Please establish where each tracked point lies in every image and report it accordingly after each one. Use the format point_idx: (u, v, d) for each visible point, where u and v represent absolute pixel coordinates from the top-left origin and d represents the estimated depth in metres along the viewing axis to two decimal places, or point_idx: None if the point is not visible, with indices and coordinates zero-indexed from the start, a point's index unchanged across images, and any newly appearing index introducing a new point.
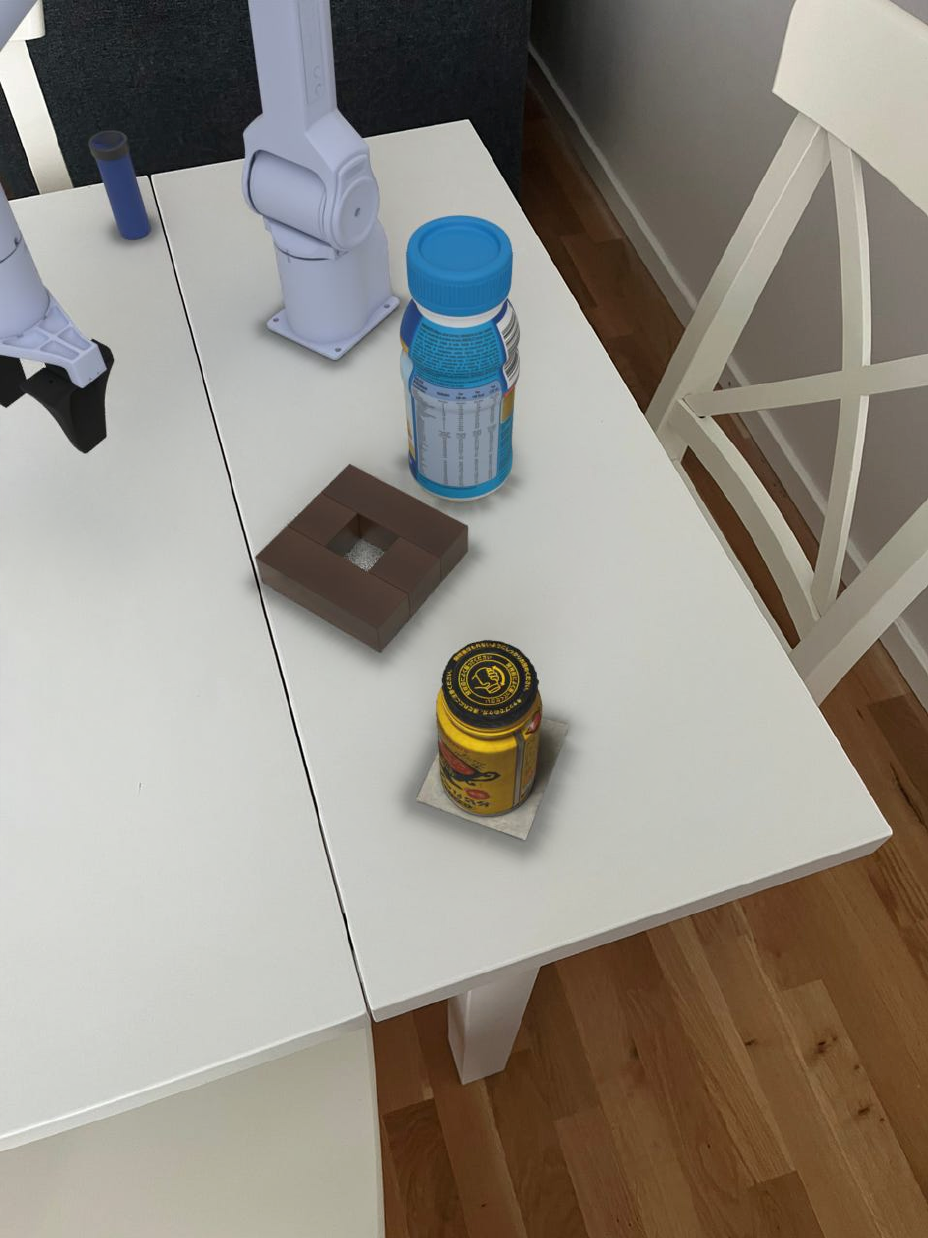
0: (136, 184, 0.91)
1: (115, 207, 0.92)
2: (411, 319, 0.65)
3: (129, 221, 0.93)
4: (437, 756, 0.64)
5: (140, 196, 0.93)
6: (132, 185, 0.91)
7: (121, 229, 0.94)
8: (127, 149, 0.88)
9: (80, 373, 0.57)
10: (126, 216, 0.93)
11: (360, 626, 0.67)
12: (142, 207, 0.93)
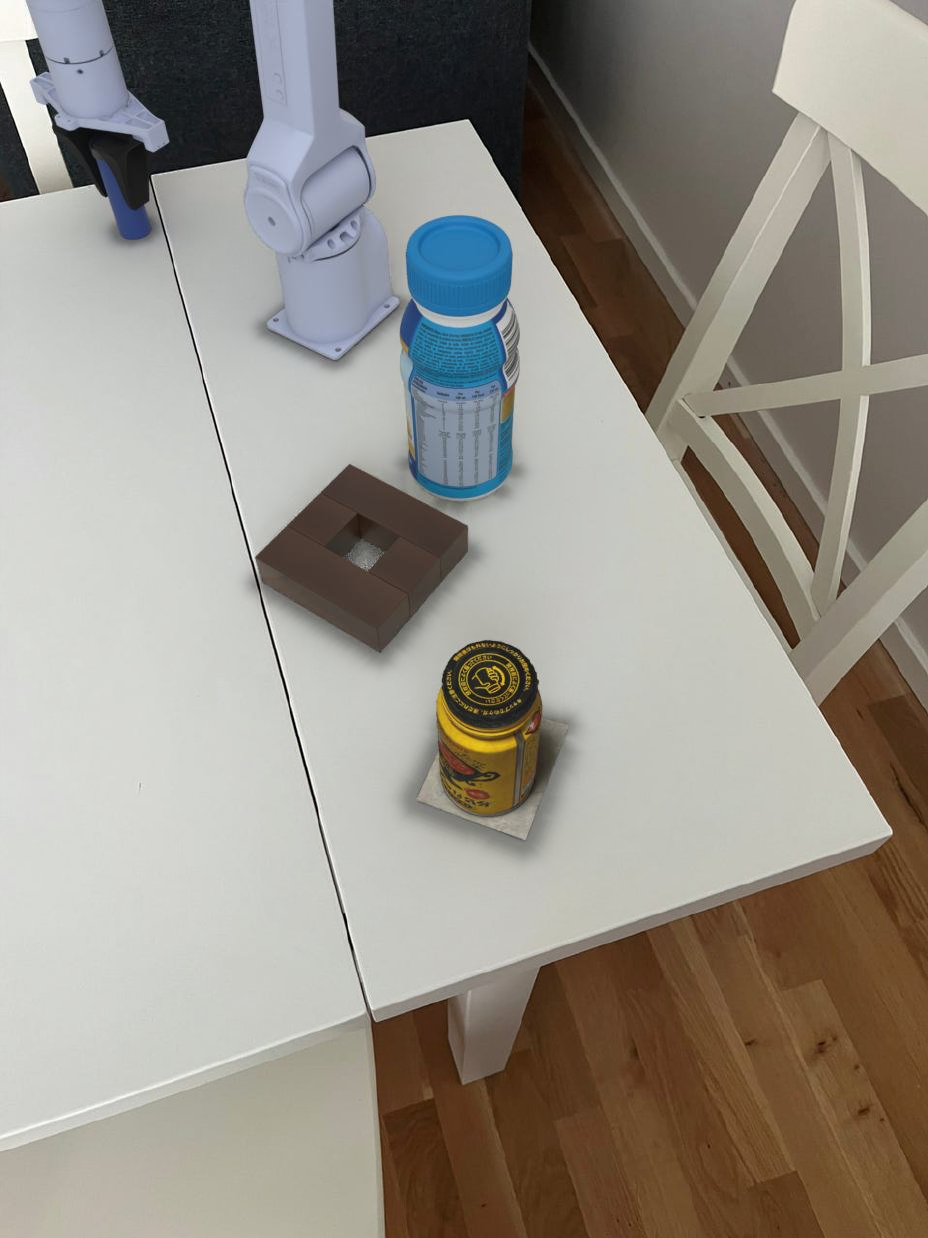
0: None
1: (115, 207, 0.92)
2: (411, 318, 0.65)
3: (130, 221, 0.93)
4: (437, 756, 0.64)
5: None
6: None
7: (121, 229, 0.94)
8: None
9: (152, 140, 0.83)
10: (126, 216, 0.93)
11: (360, 626, 0.67)
12: (142, 207, 0.93)
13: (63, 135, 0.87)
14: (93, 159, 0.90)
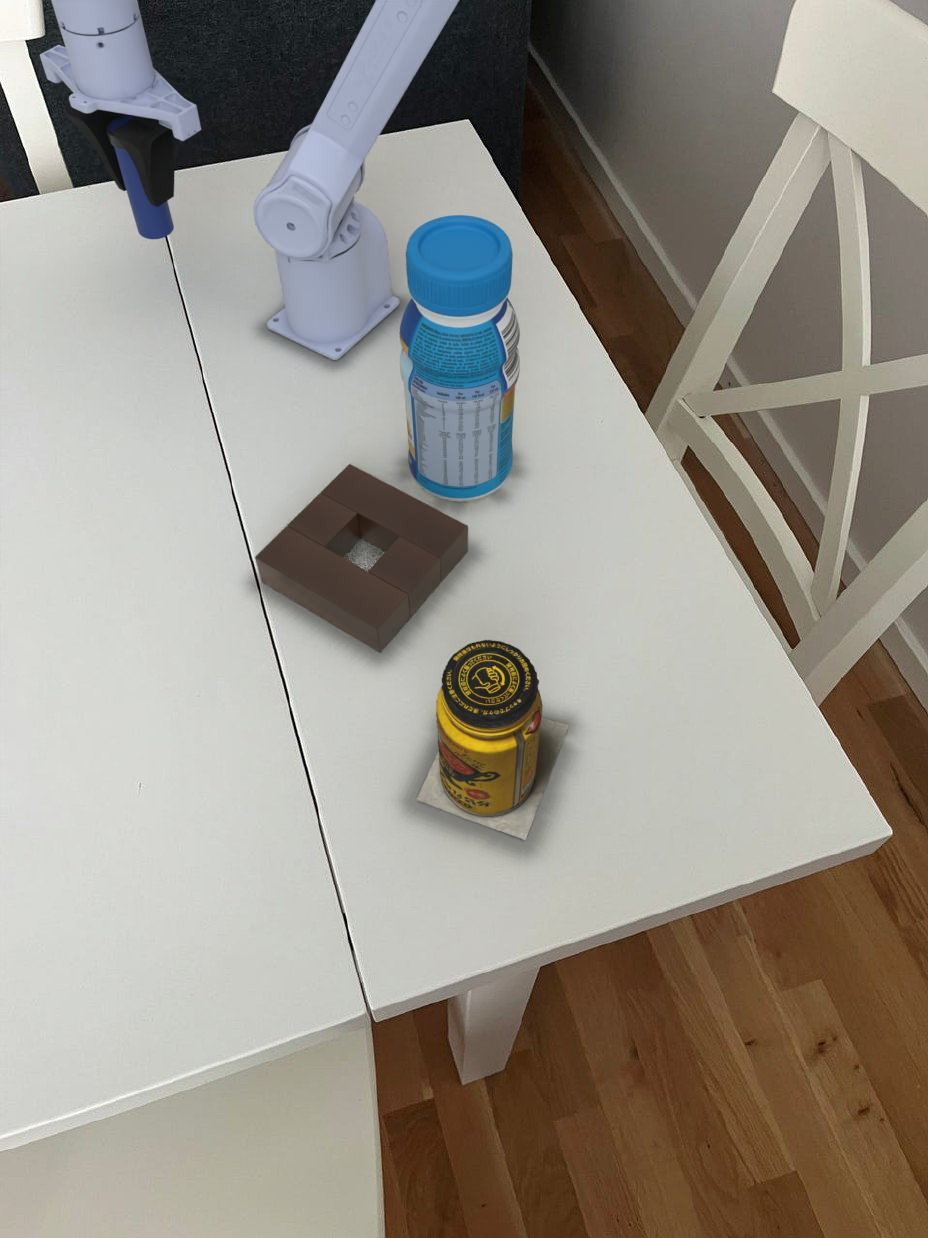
0: None
1: (134, 202, 0.81)
2: (411, 318, 0.65)
3: (150, 219, 0.82)
4: (437, 756, 0.64)
5: None
6: None
7: (140, 228, 0.83)
8: None
9: (182, 127, 0.72)
10: (146, 213, 0.81)
11: (360, 626, 0.67)
12: (165, 203, 0.82)
13: (78, 118, 0.75)
14: (111, 147, 0.78)
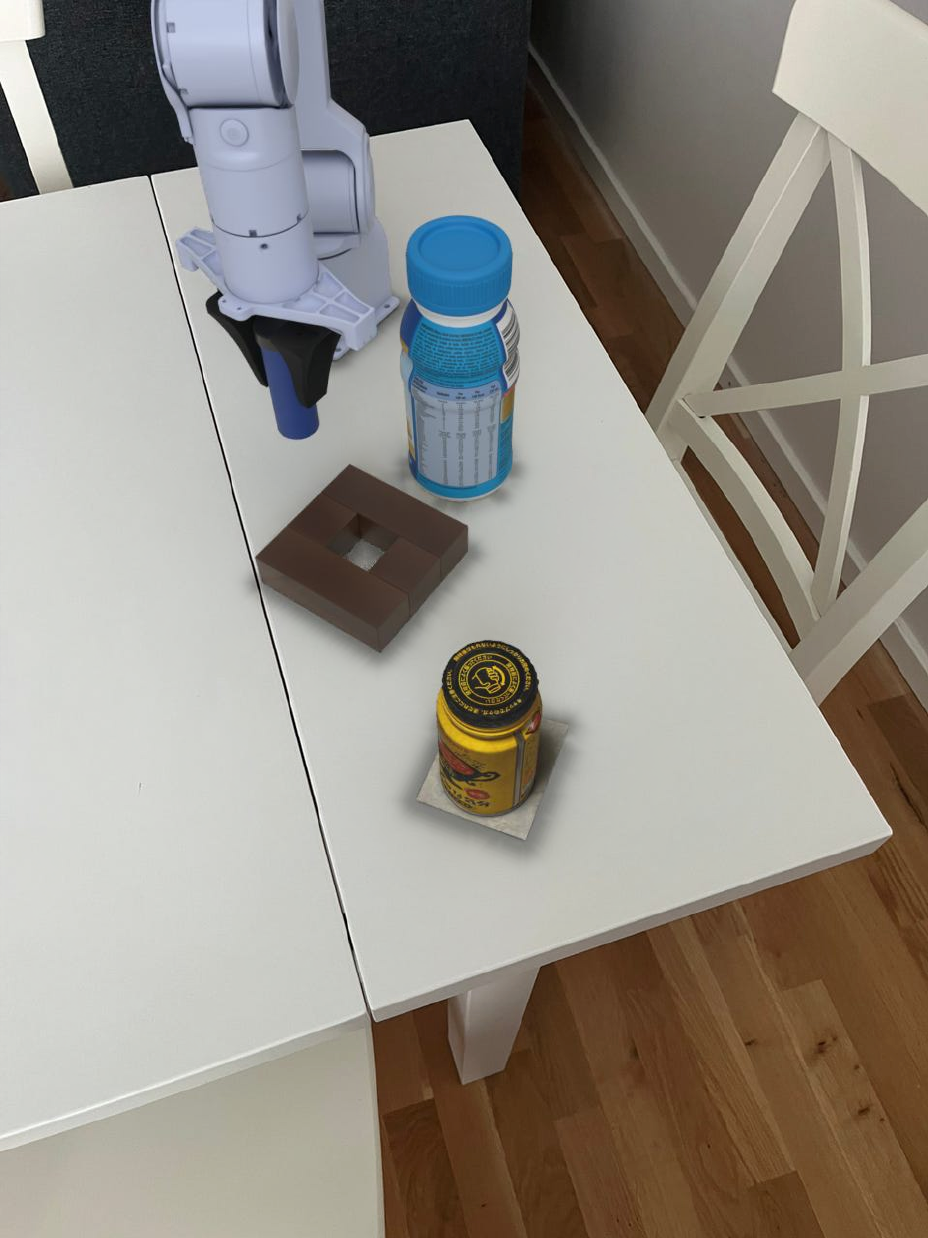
0: None
1: (279, 403, 0.67)
2: (411, 318, 0.65)
3: (296, 420, 0.68)
4: (437, 756, 0.64)
5: None
6: None
7: (282, 428, 0.69)
8: None
9: (358, 336, 0.58)
10: (293, 414, 0.68)
11: (360, 626, 0.67)
12: None
13: (222, 318, 0.62)
14: (256, 343, 0.65)
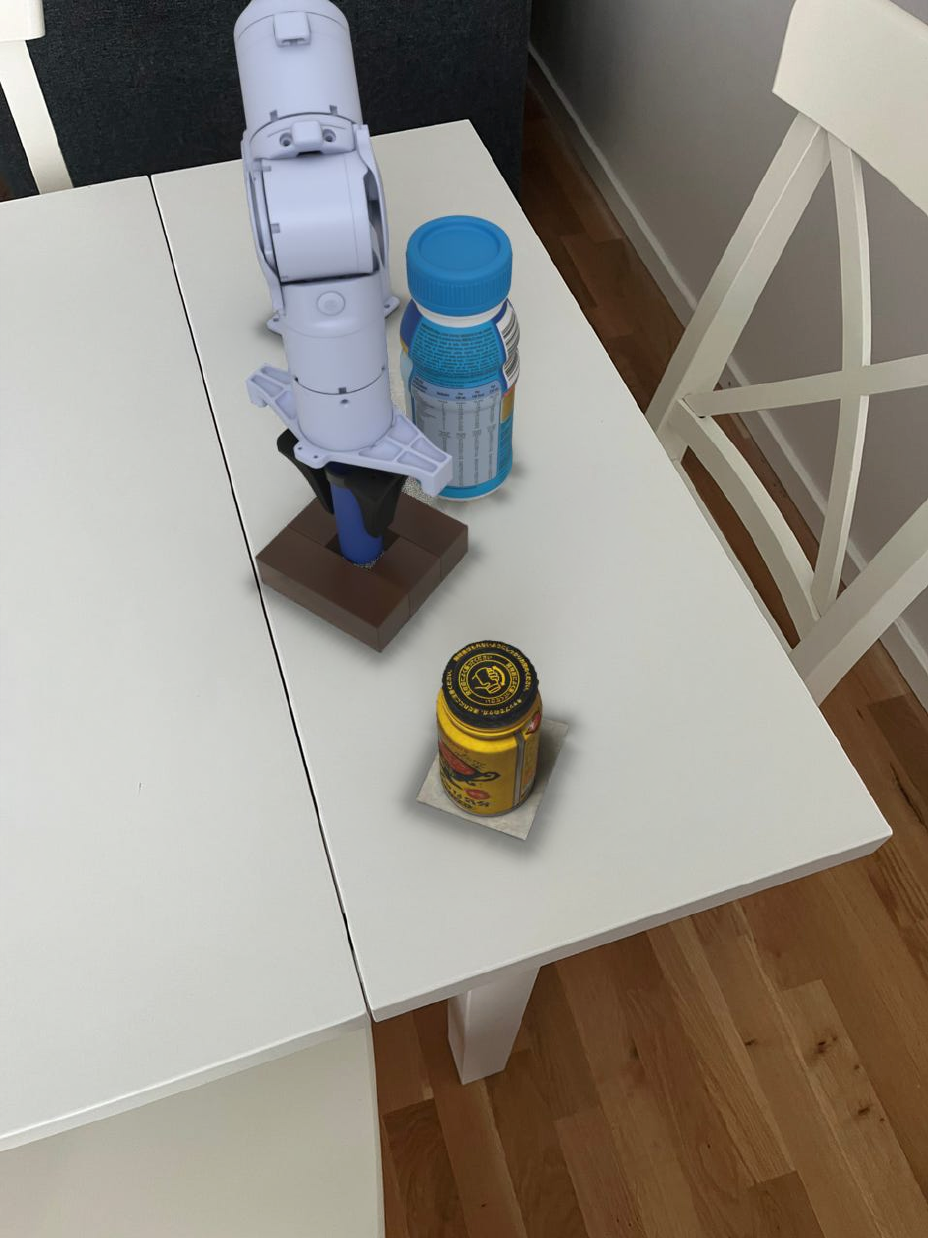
0: None
1: (346, 533, 0.67)
2: (411, 318, 0.65)
3: (362, 547, 0.68)
4: (437, 756, 0.64)
5: None
6: None
7: (347, 553, 0.69)
8: None
9: (436, 484, 0.58)
10: (359, 542, 0.67)
11: (360, 626, 0.67)
12: None
13: (294, 458, 0.61)
14: (325, 476, 0.65)
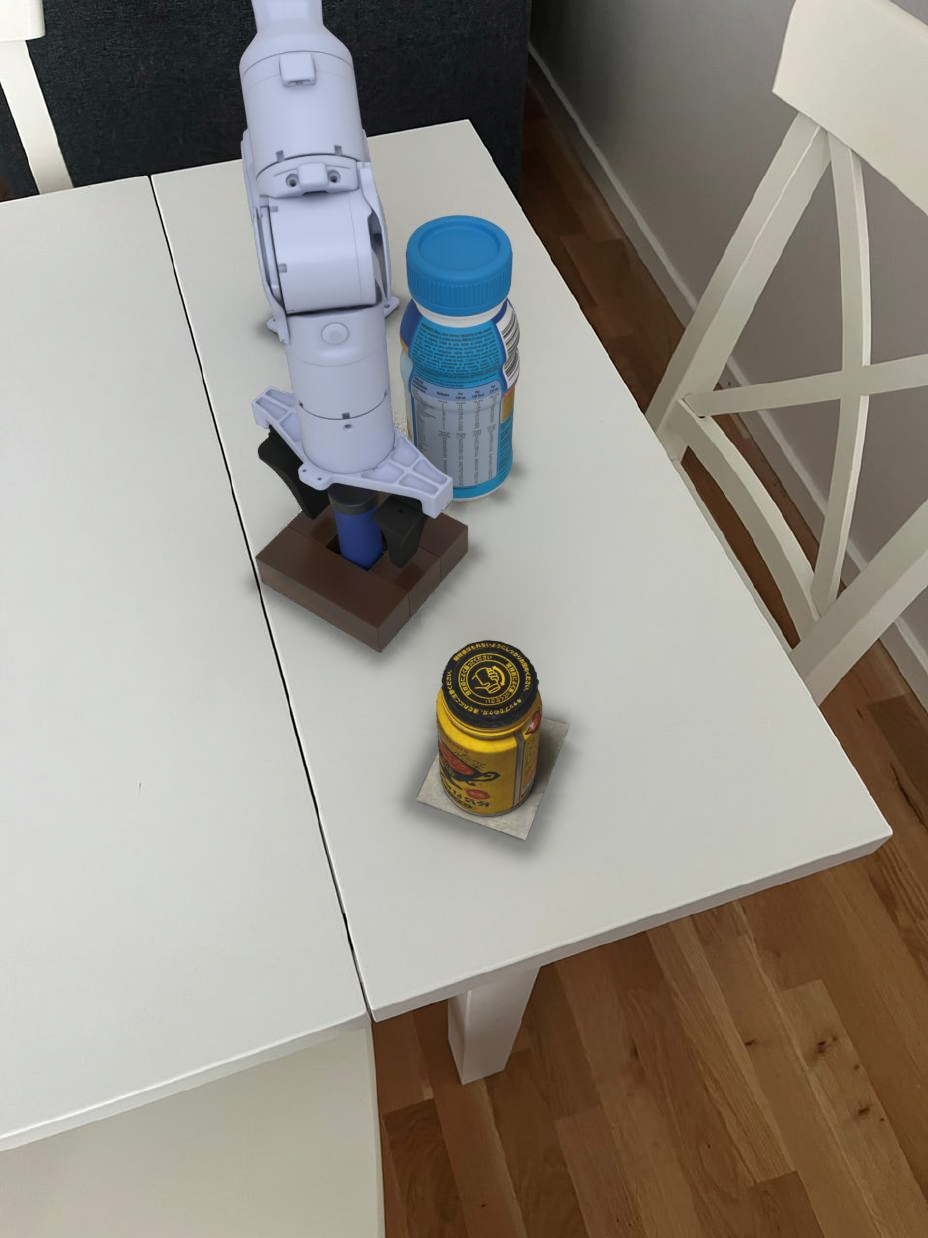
0: (379, 528, 0.68)
1: (349, 555, 0.69)
2: (411, 318, 0.65)
3: (364, 569, 0.70)
4: (437, 756, 0.64)
5: (381, 538, 0.69)
6: (376, 532, 0.68)
7: None
8: (378, 496, 0.65)
9: (437, 506, 0.60)
10: (361, 564, 0.69)
11: (360, 626, 0.67)
12: (381, 550, 0.70)
13: (275, 466, 0.64)
14: (305, 483, 0.67)
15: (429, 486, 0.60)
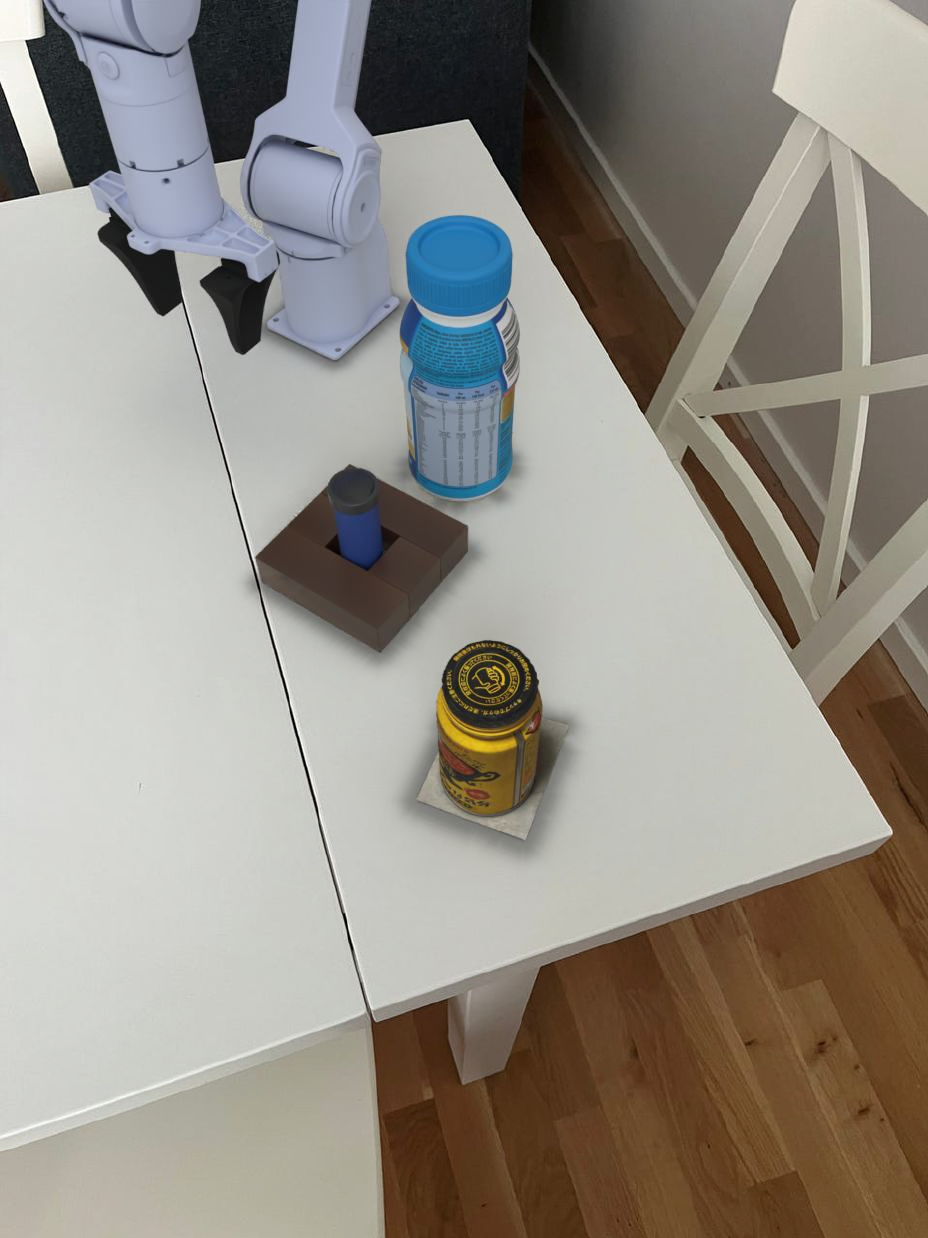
0: (379, 528, 0.68)
1: (349, 555, 0.69)
2: (411, 318, 0.65)
3: (364, 569, 0.70)
4: (437, 756, 0.64)
5: (381, 538, 0.69)
6: (376, 532, 0.68)
7: None
8: (378, 496, 0.65)
9: (259, 267, 0.62)
10: (361, 564, 0.69)
11: (360, 626, 0.67)
12: (381, 550, 0.70)
13: (113, 245, 0.66)
14: (149, 272, 0.69)
15: (252, 248, 0.62)
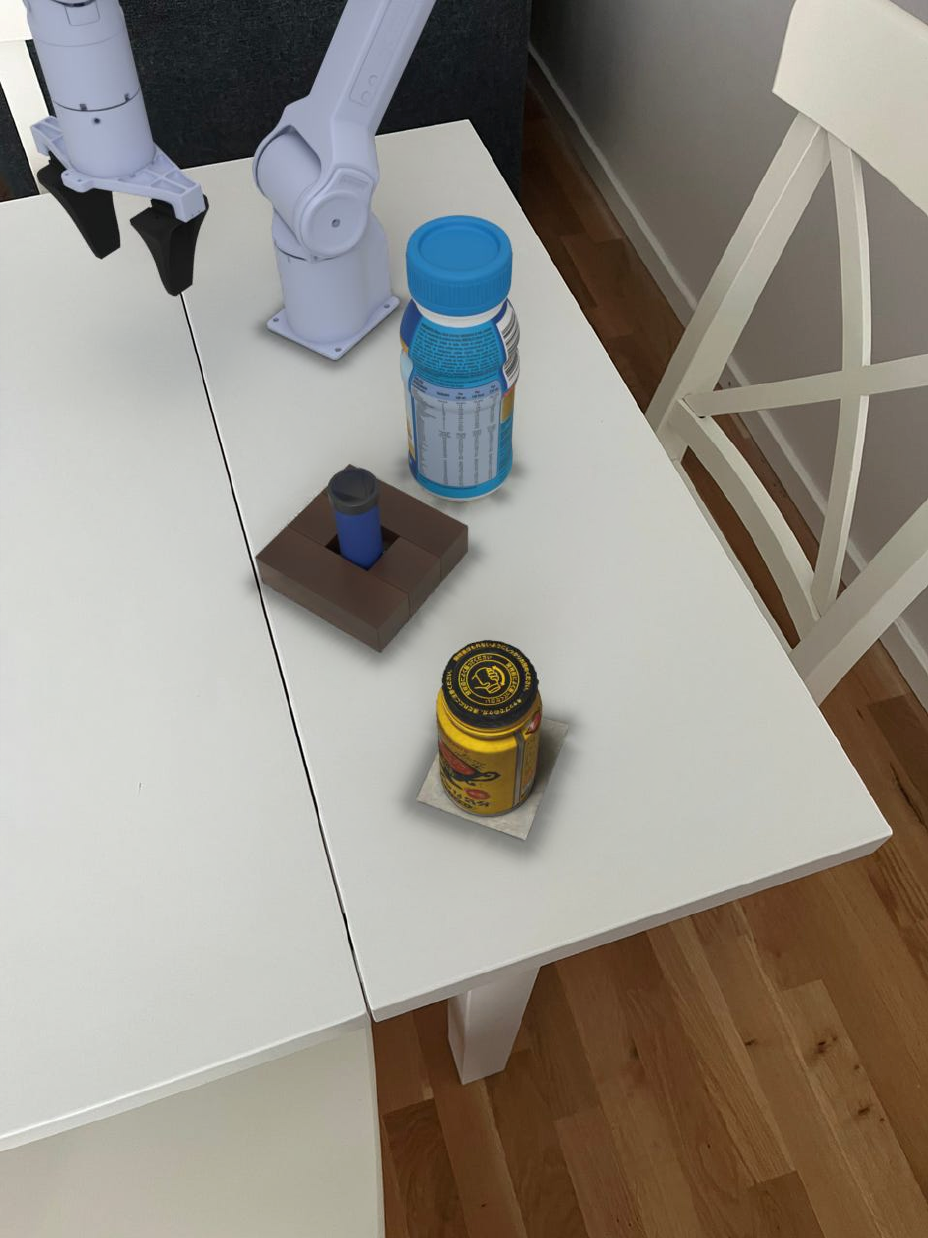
0: (379, 528, 0.68)
1: (349, 555, 0.69)
2: (411, 318, 0.65)
3: (364, 569, 0.70)
4: (437, 756, 0.64)
5: (381, 538, 0.69)
6: (376, 532, 0.68)
7: None
8: (378, 496, 0.65)
9: (185, 207, 0.66)
10: (361, 564, 0.69)
11: (360, 626, 0.67)
12: (381, 550, 0.70)
13: (51, 186, 0.70)
14: (87, 214, 0.73)
15: (179, 189, 0.66)
